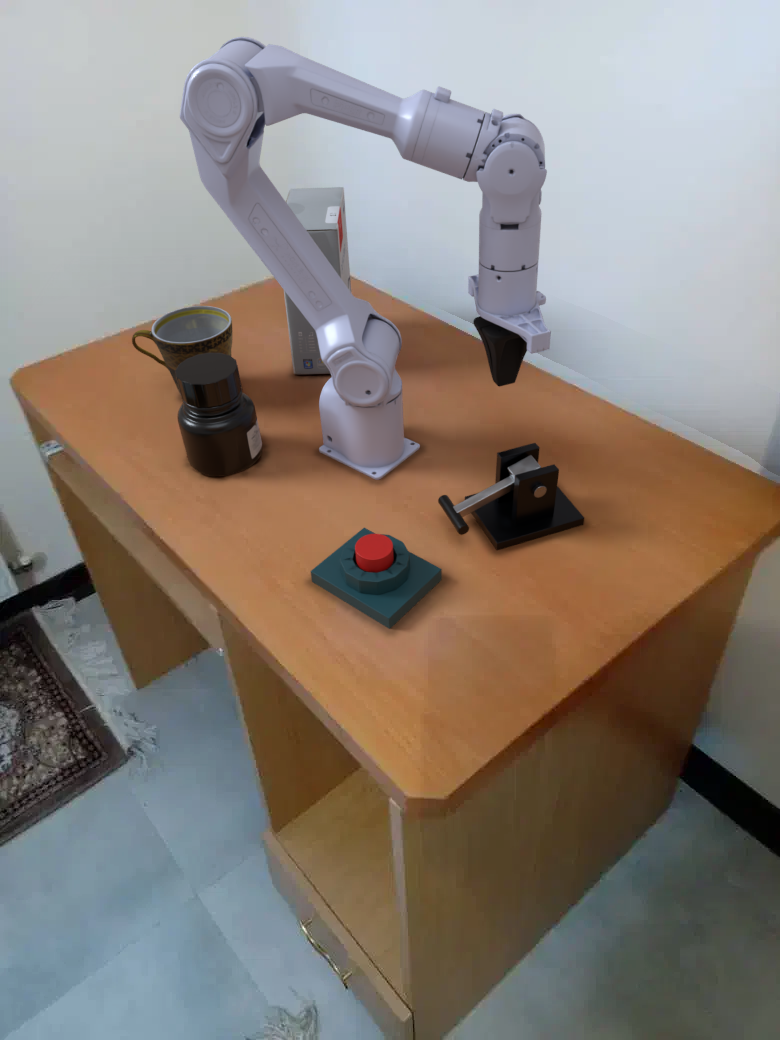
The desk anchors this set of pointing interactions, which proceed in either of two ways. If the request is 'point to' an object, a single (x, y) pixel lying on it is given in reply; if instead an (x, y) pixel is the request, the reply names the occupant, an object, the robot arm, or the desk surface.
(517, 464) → the switch lever
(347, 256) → the hard drive box
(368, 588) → the button box
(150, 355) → the ceramic cup
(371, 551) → the power button
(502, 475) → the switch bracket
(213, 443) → the ink bottle
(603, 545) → the desk surface
